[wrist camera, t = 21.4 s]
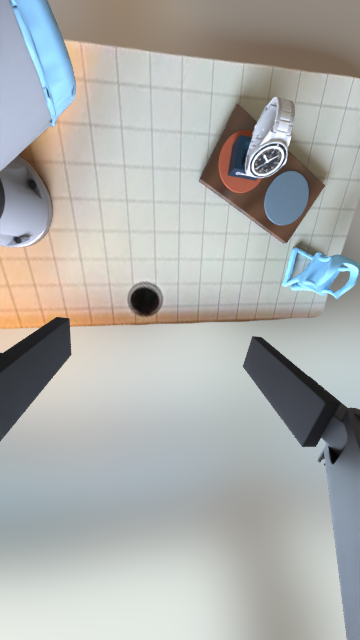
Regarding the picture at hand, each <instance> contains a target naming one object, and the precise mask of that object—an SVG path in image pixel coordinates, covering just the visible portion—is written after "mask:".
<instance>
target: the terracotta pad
mask: <svg viewBox="0 0 360 640" xmlns="http://www.w3.org/2000/svg"><path fill="white" fill-rule="evenodd" d="M252 133H253V132H252V131H249V130H241V131H238V132H236V133H234V134H233V135H231V136H230V137H229V138H228V139H227V141H226V142H225V143H224V145H223V147H222V149H221V152H220V156H219V173H220V177H221V179H222V181H223V183H224V184H225V185H226V187H227V188H229V189H230V190H231V191H234V192H237V193H244V192H248V191H250V190H252V189H253V188H254V187H256V186H257V185H258V184H259V182H260V181H261V179H262V178H259V179H257V180H256V181H255V180H250V179H244V178H239V177H234V176H228V170H229V163H230V157H231V151H232V145H233V144H234V143H235V141H236V140H237V138H238V137H239V136H240V135H243V136H248V137H252V136H253V134H252Z"/></svg>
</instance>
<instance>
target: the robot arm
mask: <svg viewBox="0 0 360 640" xmlns="http://www.w3.org/2000/svg"><path fill="white" fill-rule="evenodd" d="M75 93H76V82H75V76H74V71H73V67H72V64H71V60H70V57H69V54H68V51H67V48H66V46H65V43H64V40H63V38H62V35H61V32H60V30H59V28H58V25H57V22H56V20H55V18H54V15H53V13H52V10H51V8H50V5H49V3H48V1H47V0H0V246H4V247H27V246H30V245H33V244H35V243H37V242H39V241H40V240H41V239H42V238H43V237H44V236H45V235H46V234H47V232H48V230H49V228H50V226H51V222H52V216H53V210H52V202H51V198H50V195H49V192H48V189H47V187H46V185H45V183H44V181H43V180H42V178H41V177H40V175H39V174H38V172H37V171H36V170H35V169H34V168H33V167H32V166H31V165H30V164H29V163H28V162H27V161H26V160H25V159H24V158H22V157H21V156H20V155H19V154H20V153H21V152H22V151H23V150H24V149H25V148H26V147H27V146H29V145H30V144H31V143H32V142H33V141H34V140H35V139H36V138H37V137H38V136H39V135H41V134H42V133H43V132H44V131H45V130H46V129H47V128H48V127H49V126H51V127H53V126H54V125H55V124H56V119H57V118H58V117H59V115H60V114H61V113H62V112H63V111H64V110H65V109H66V108H67V107H68V106H69V105H70V104H71V102H72V101H73V99H74V97H75ZM70 356H71V342H70V321H69V318H60V317H56V318H55V319H53V320H52V321H50V322H49V323H47V324H46V325H44V326H43V327H41V328H40V329H38V330H37V331H35V332H34V333H32V334H31V335H29V336H28V337H26V338H25V339H23V340H22V341H20V342H19V343H17V344H16V345H14V346H13V347H11V348H10V349H8V350H7V351H5V352H4V353H0V441H1V440H2V439H3V437H4V436H5V435H6V434H7V432H8V431H9V430H10V428H12V426H13V425H14V424H15V423H16V422H17V420H18V419H19V418H20V417H21V415H22V414H23V413H24V412H25V411H26V409H27V408H28V407H29V406H30V404H31V403H32V402H33V401H34V400H35V398H36V397H37V396H38V395H39V393H40V392H41V391H42V390H43V389H44V387H45V386H46V385H47V384H48V382H49V381H50V380H51V379H52V378H53V376H54V375H55V374H56V373H57V371H58V370H59V369H60V368H61V367H62V365H63V364H64V363H65V362H66V361H67V359H68V358H69V357H70ZM243 367H244V369H245V370H246V371H247V373H248V374H249V375H250V377H251V378H252V379H253V381H254V382H255V383H256V385H257V386H258V388H259V389H260V390H261V392H262V393H263V394H264V396H265V397H266V398H267V400H268V401H269V402H270V404H271V405H272V407H273V408H274V409H275V411H276V412H277V413H278V415H279V416H280V417H281V419H282V420H283V421H284V423H285V424H286V425H287V427H288V428H289V430H290V431H291V432H292V434H293V435H294V436H295V438H296V439H297V440H298V442H299V443H300V444H301V446H302V447H316V445H317V444H318V442H319V440H320V438H322V439H323V440H324V441H325V442H326V443H327V444H326V446H325V447H324V449H323V451H322V452H321V454H320V456H319V457H318V460H317V461H318V462H321V460H322V459H325V464H324V465H325V466H326V472H327V480H328V489H329V497H330V505H331V513H332V521H333V530H334V538H335V546H336V554H337V563H338V571H339V579H340V587H341V596H342V604H343V612H344V620H345V628H346V637H347V640H360V410H359V409H356V408H347V407H346V406H344V405H343V404H342V403H341V402H340V401H339V400H337V399H336V398H335V397H334V396H332V395H331V394H330V393H329V392H328V391H326V390H324V388H323V387H321V386H320V385H318V383H317V382H316V381H314V380H313V379H312V378H311V377H309V376H307V375H306V374H305V373H304V372H303V371H301V370H300V369H299V368H298V367H297V366H295V365H294V364H293V363H292V362H291V361H289V360H288V359H287V358H286V357H285V356H283V355H282V354H281V353H280V352H279V351H277V350H276V349H275V348H274V347H272V346H271V345H270V344H269V343H268V342H266V341H265V340H264V339H263V338H261V337H252V340H251V343H250V346H249V349H248V352H247V355H246V358H245V362H244V365H243Z"/></svg>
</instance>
